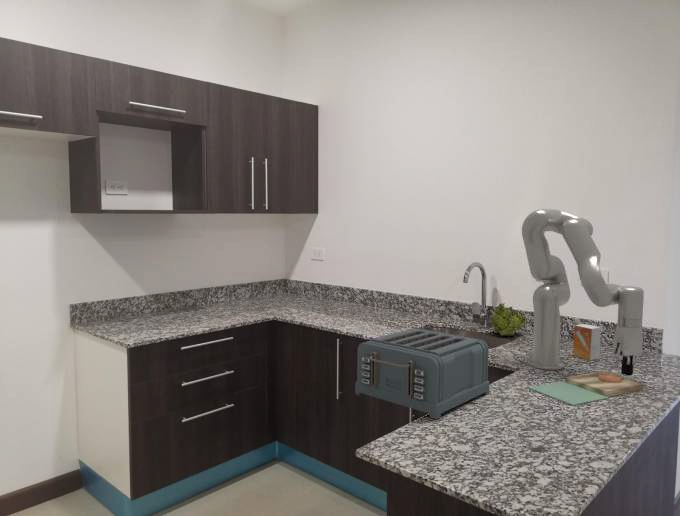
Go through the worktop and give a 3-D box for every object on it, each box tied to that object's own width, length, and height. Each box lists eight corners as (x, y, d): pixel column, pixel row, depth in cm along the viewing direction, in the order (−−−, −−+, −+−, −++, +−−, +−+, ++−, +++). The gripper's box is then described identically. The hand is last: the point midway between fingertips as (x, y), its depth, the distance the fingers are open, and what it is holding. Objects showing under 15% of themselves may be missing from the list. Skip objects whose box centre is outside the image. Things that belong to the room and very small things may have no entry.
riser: (565, 383, 187) (565, 377, 187) (600, 376, 195) (601, 371, 195) (606, 397, 173) (606, 391, 173) (642, 389, 181) (643, 384, 181)
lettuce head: (520, 342, 247) (522, 307, 246) (486, 338, 254) (487, 304, 253) (527, 334, 263) (528, 301, 262) (494, 331, 270) (495, 299, 269)
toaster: (345, 397, 171) (346, 341, 170) (412, 373, 198) (413, 325, 196) (427, 423, 150) (429, 360, 149) (489, 393, 177) (491, 339, 175)
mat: (528, 388, 181) (528, 387, 181) (562, 382, 188) (562, 381, 188) (573, 405, 165) (573, 404, 165) (608, 398, 172) (608, 397, 172)
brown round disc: (593, 378, 186) (594, 373, 186) (607, 375, 190) (607, 371, 190) (612, 384, 180) (612, 379, 180) (625, 381, 184) (626, 376, 183)
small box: (572, 356, 224) (573, 324, 222) (582, 354, 227) (583, 323, 226) (590, 360, 217) (591, 328, 216) (600, 358, 220) (601, 327, 219)
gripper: (633, 318, 194) (631, 369, 196) (605, 322, 187) (602, 374, 189) (654, 322, 187) (651, 374, 189) (625, 326, 181) (622, 380, 182)
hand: (626, 374), depth 189 cm, fingers closed
